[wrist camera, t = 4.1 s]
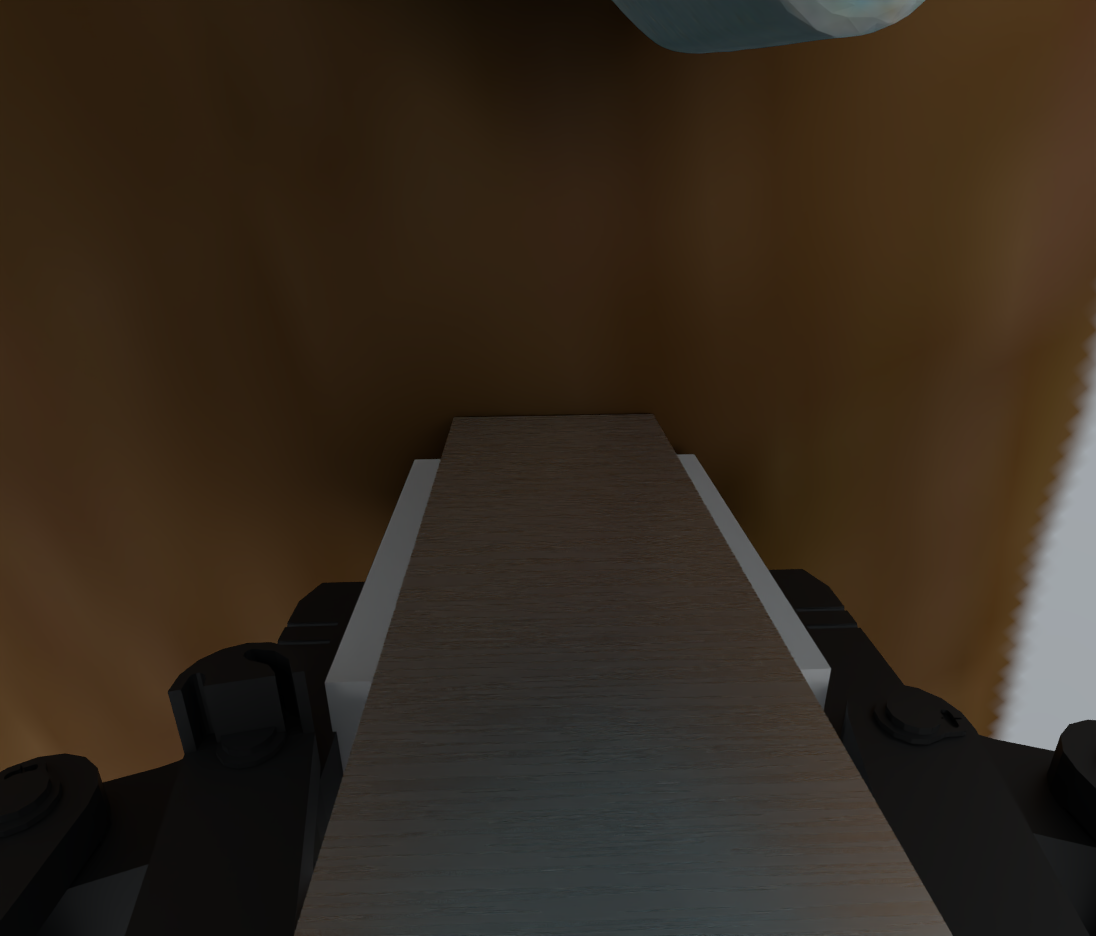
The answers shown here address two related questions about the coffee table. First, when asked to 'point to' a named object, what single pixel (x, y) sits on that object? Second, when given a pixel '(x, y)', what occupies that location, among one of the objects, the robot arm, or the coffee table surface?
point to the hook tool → (594, 722)
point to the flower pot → (758, 21)
